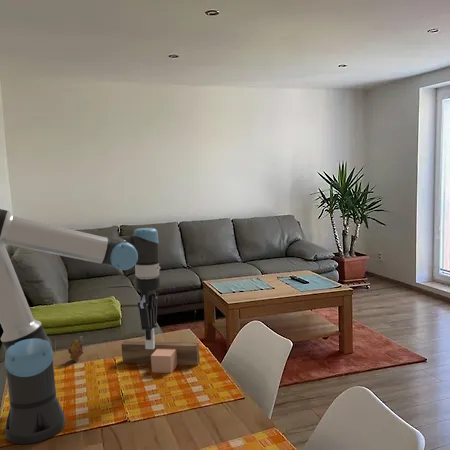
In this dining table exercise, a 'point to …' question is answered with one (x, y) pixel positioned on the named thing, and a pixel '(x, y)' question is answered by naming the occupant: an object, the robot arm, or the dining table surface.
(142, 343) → the walnut rail
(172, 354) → the block
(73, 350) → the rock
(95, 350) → the dining table surface
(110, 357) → the dining table surface
